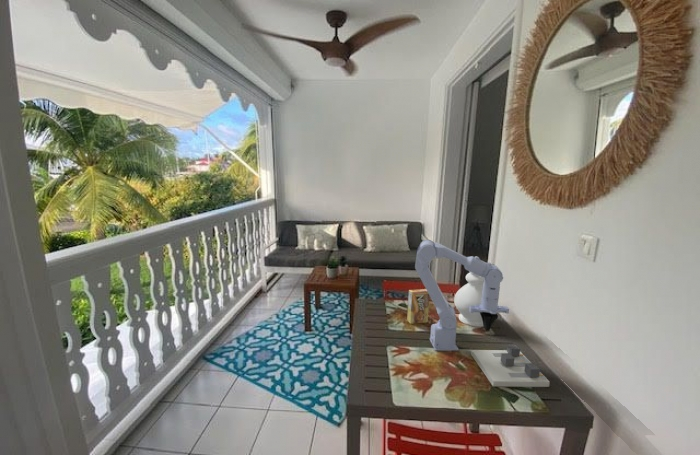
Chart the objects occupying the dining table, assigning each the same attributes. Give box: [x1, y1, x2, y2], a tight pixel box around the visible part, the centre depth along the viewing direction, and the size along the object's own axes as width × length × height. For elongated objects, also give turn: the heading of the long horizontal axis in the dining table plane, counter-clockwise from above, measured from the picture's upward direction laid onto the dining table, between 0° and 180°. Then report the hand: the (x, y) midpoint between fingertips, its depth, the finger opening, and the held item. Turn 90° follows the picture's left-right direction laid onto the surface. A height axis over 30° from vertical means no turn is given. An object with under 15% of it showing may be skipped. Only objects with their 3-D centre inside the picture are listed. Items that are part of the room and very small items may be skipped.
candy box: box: [406, 288, 430, 325], centre depth 133 cm, size 9×4×15 cm, turn 103°
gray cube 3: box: [524, 362, 541, 377], centre depth 96 cm, size 3×3×3 cm
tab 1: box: [506, 344, 521, 357], centre depth 107 cm, size 3×3×3 cm
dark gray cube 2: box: [501, 353, 514, 366], centre depth 101 cm, size 3×3×3 cm
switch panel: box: [470, 349, 550, 388], centre depth 102 cm, size 18×17×2 cm
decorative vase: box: [453, 271, 484, 328], centre depth 135 cm, size 18×18×25 cm
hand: (486, 329), depth 111 cm, fingers closed
